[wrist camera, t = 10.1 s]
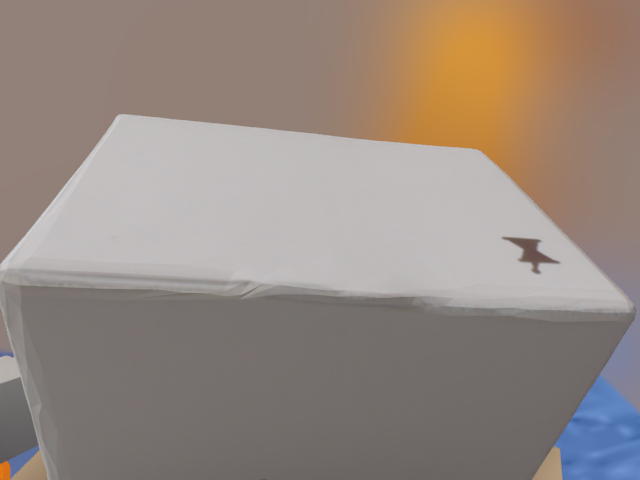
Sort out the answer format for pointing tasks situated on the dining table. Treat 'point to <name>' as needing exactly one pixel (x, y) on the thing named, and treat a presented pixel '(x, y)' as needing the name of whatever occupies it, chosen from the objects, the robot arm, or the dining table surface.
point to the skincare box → (299, 311)
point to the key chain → (4, 471)
